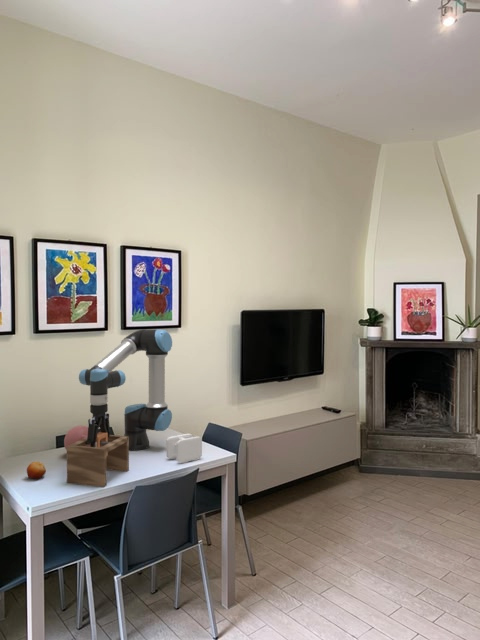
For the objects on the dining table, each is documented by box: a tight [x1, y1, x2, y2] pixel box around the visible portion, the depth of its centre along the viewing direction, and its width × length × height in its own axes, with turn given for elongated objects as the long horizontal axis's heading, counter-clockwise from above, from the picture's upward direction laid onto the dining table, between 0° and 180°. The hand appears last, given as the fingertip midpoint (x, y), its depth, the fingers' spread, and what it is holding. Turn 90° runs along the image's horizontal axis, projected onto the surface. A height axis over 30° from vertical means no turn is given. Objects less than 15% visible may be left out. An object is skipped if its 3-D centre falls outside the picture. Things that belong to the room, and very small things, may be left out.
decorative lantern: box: [63, 425, 90, 451], centre depth 242 cm, size 15×20×15 cm
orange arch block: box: [96, 431, 109, 456], centre depth 214 cm, size 4×8×10 cm, turn 165°
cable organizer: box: [165, 433, 203, 464], centre depth 239 cm, size 15×11×12 cm
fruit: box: [26, 461, 47, 480], centre depth 212 cm, size 8×8×8 cm
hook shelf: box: [66, 434, 130, 488], centre depth 214 cm, size 22×18×16 cm
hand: (99, 453), depth 214 cm, fingers closed on orange arch block, 8 cm apart
